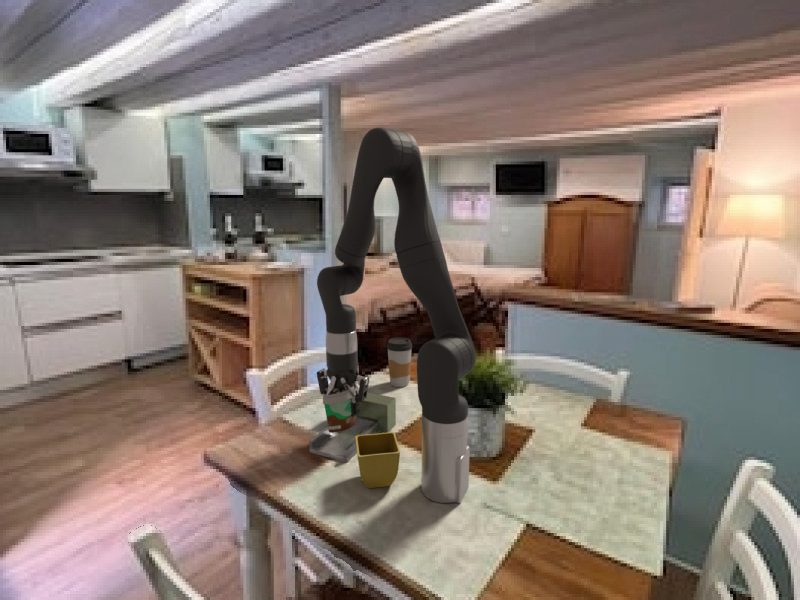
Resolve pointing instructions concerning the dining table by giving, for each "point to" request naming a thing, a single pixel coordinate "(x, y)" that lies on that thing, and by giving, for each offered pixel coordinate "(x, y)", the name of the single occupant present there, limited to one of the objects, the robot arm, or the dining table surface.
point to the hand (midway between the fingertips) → (343, 412)
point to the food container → (339, 409)
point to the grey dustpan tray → (357, 428)
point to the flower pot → (378, 458)
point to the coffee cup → (399, 361)
